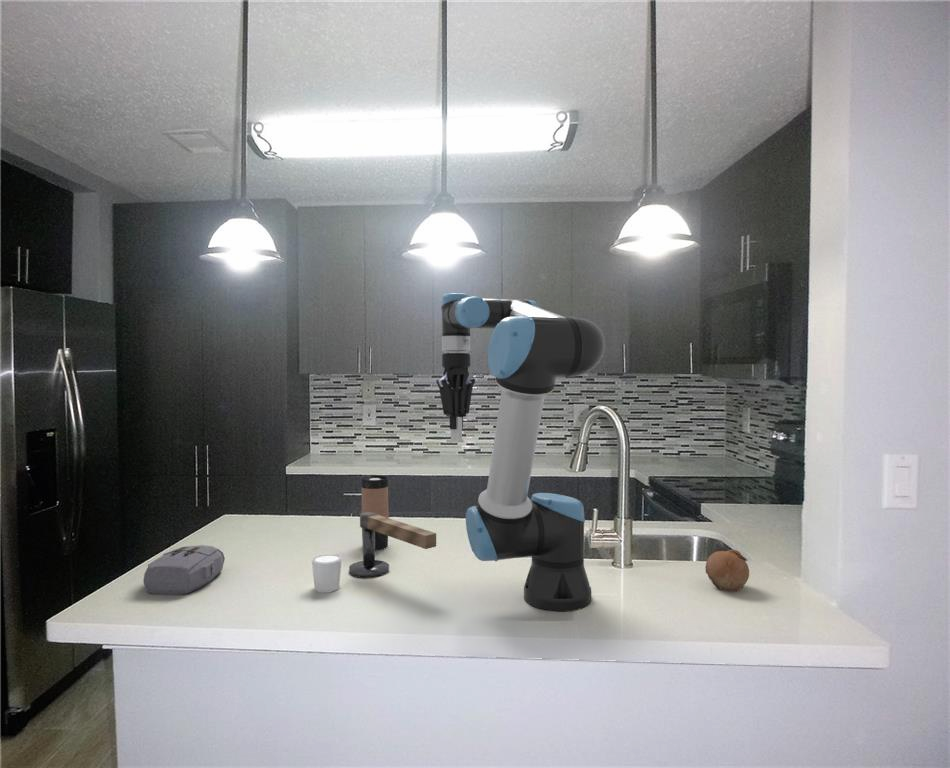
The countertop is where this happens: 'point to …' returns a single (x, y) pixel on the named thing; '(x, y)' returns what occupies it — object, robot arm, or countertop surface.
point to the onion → (727, 570)
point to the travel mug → (376, 503)
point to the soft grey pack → (183, 570)
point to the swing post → (368, 559)
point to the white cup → (326, 572)
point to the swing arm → (398, 530)
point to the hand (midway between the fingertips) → (456, 441)
